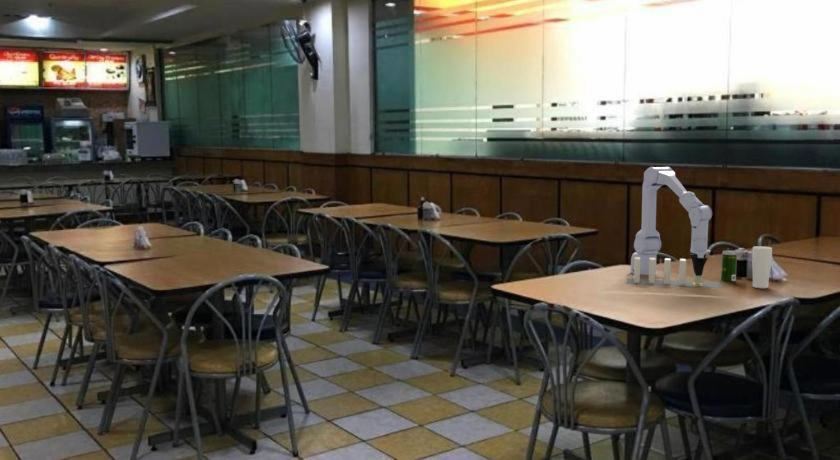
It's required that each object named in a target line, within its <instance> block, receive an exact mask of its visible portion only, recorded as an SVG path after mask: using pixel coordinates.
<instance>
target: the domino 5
mask: <svg viewBox="0 0 840 460" xmlns="http://www.w3.org/2000/svg"><path fill="white" fill-rule="evenodd" d="M693 279H694V280H693V281H695V283H701V282H702V276H696V275H695V274H694V278H693Z"/></svg>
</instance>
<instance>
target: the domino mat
mask: <svg viewBox="0 0 840 460" xmlns="http://www.w3.org/2000/svg"><path fill="white" fill-rule="evenodd" d="M626 282H627V283H626V284H627V285H643V286H668V287H669V286H670V287H689V288H690V287H692V288H693V287H694V288H713V289H714V288H715V289H722V288H723V287H722V286H721V284H720V283H719V282H715V281H713V282H712V281H701V283H695V281H694V280H693V281H691V280H686V282H685V285H680V284H679V280H672V279H670V284H664V279H655V283H649V278H648V279H645V278H642V279H641V278H640V283H634V278H626Z"/></svg>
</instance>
